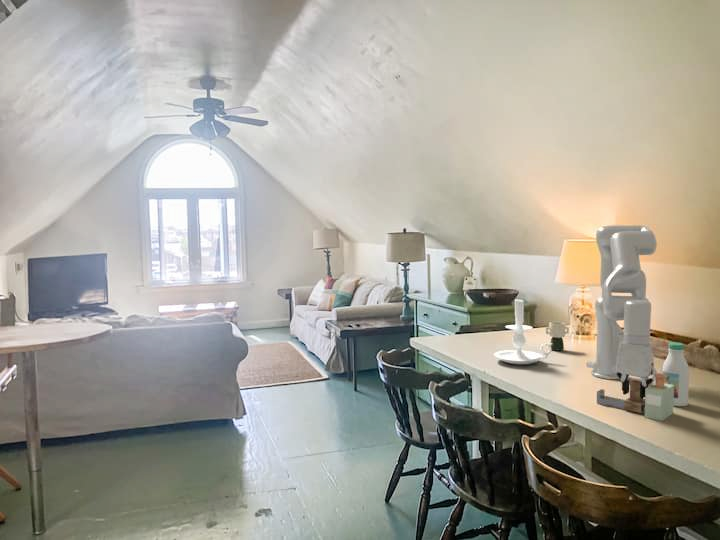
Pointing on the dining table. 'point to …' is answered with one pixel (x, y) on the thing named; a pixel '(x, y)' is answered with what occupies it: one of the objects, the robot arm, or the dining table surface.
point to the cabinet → (659, 401)
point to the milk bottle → (677, 373)
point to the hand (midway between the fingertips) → (634, 394)
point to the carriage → (634, 397)
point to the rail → (612, 401)
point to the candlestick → (520, 341)
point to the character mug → (557, 334)
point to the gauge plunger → (660, 380)
